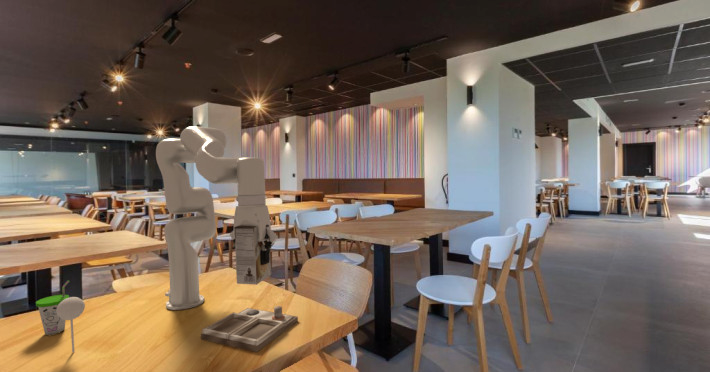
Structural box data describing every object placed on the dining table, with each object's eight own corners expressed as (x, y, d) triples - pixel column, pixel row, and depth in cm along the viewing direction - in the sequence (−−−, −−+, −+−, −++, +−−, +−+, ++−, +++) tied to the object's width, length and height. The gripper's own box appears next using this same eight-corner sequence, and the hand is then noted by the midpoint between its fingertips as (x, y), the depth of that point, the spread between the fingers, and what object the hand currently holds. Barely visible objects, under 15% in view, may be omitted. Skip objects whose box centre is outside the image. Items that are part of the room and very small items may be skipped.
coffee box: (252, 274, 104) (250, 221, 103) (271, 275, 103) (270, 221, 102) (235, 284, 95) (233, 226, 94) (257, 285, 94) (255, 226, 93)
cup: (33, 340, 100) (30, 290, 99) (42, 330, 107) (39, 282, 106) (67, 334, 103) (64, 285, 103) (74, 324, 110) (71, 278, 110)
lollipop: (70, 346, 96) (67, 294, 95) (92, 345, 96) (89, 293, 96) (52, 359, 90) (49, 302, 89) (76, 357, 90) (73, 301, 90)
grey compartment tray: (200, 339, 99) (200, 322, 99) (247, 312, 117) (247, 297, 117) (256, 352, 91) (256, 333, 91) (297, 321, 110) (297, 305, 109)
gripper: (218, 201, 98) (221, 263, 99) (268, 202, 91) (271, 269, 92) (237, 199, 105) (239, 257, 106) (285, 200, 98) (287, 261, 99)
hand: (254, 262), depth 99 cm, fingers closed on coffee box, 7 cm apart
